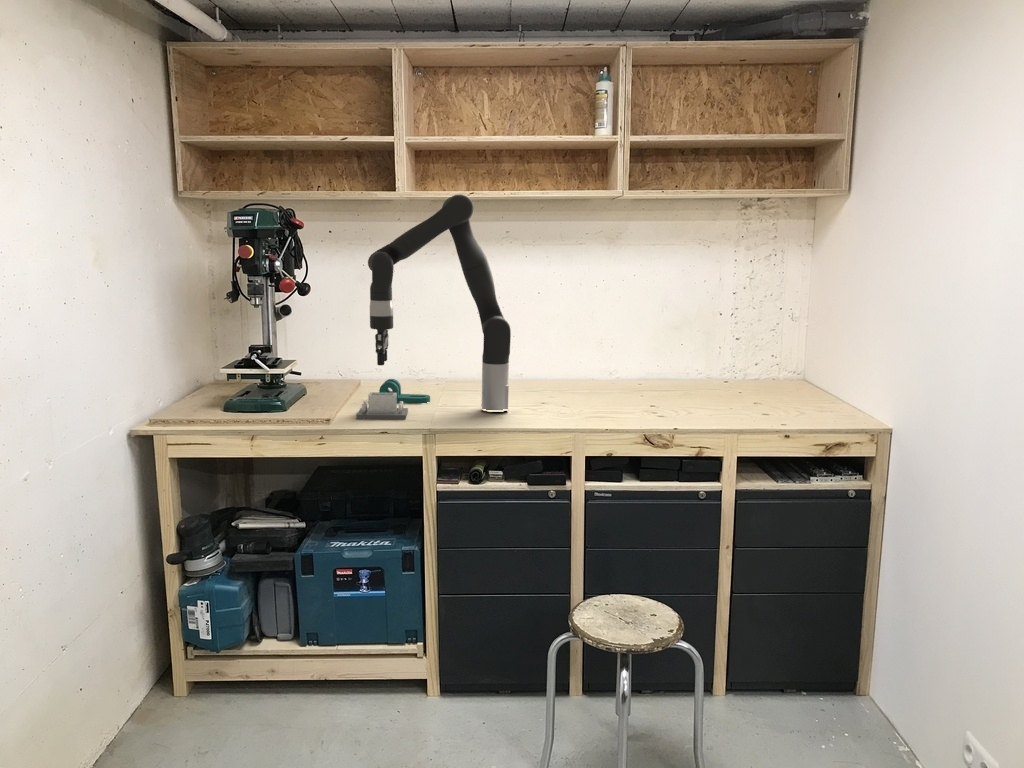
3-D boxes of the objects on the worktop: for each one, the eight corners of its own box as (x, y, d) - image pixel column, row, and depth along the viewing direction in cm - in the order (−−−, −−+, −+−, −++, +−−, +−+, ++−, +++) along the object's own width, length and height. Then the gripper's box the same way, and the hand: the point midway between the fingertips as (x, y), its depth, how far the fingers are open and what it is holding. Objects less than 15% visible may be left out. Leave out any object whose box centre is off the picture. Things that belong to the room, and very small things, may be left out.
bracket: (379, 403, 249) (379, 382, 247) (382, 399, 255) (382, 378, 254) (428, 404, 249) (429, 383, 247) (431, 400, 255) (431, 379, 254)
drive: (397, 409, 232) (396, 392, 231) (395, 413, 228) (395, 395, 227) (370, 409, 232) (369, 391, 230) (368, 412, 227) (368, 394, 226)
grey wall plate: (408, 412, 236) (407, 399, 235) (405, 419, 226) (405, 406, 225) (360, 411, 234) (360, 399, 234) (356, 419, 225) (356, 405, 224)
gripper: (390, 316, 217) (391, 366, 220) (395, 312, 230) (395, 359, 234) (366, 316, 216) (368, 366, 219) (372, 311, 230) (373, 359, 233)
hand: (382, 363), depth 226 cm, fingers open, 8 cm apart
